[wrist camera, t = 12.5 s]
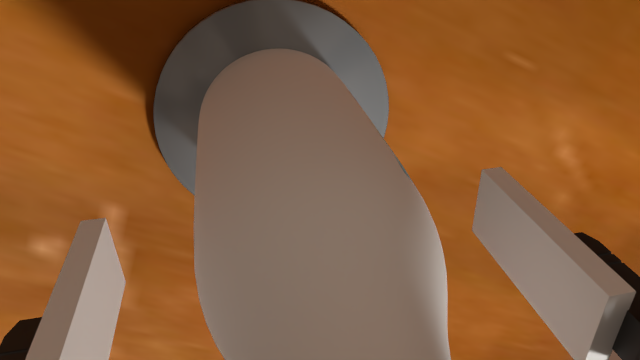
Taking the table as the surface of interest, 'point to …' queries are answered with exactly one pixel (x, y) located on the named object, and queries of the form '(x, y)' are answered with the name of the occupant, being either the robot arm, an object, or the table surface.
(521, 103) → the table surface
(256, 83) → the milk bottle
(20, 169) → the table surface
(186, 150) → the grey round disc
